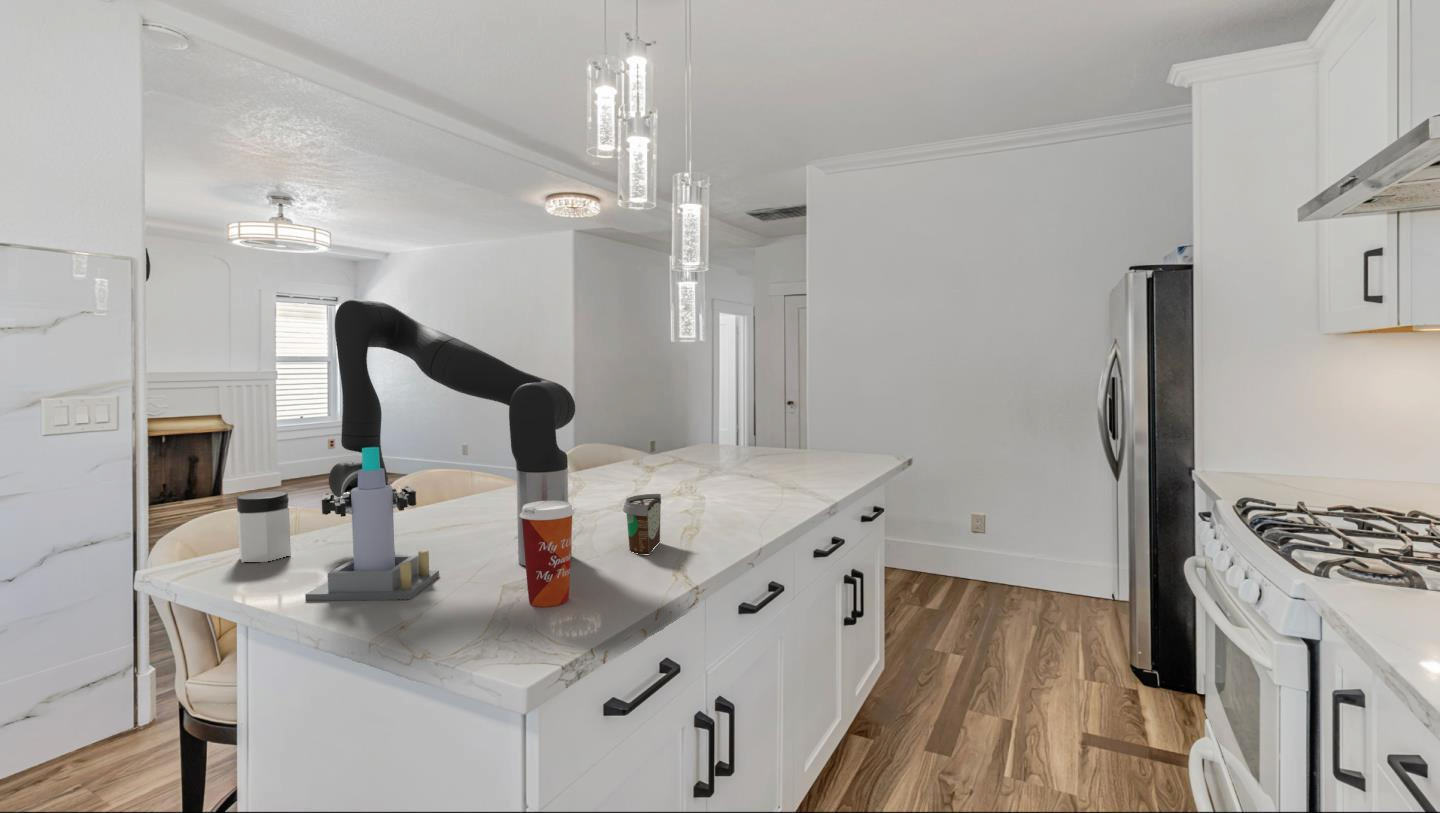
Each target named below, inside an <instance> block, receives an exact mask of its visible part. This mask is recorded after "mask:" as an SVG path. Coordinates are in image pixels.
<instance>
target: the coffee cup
mask: <svg viewBox="0 0 1440 813" xmlns="http://www.w3.org/2000/svg"><path fill="white" fill-rule="evenodd" d="M575 512H576V511H575V510H574V509H573V507H572V504H571V503H570V502H569V501H568V502H565V501H538V502H532V503H528V504H525V505H524V506H523V507H522V512H521V513H520V515H519V516H520V517H521V518H522V526H523V539H524V551H525V564H526V566H525V573H526V584H527V585H526V586H527V596H528V602H529V605H530V606H533V607H537V608H552V607H558V606H562V605H564V604H566V603H567V602H568V601H569V597H570V596H569V595H570V584H571V583H570V581H571V560H572V559H571V558H572V556H571V537H572V532H573V515H575V514H576V513H575ZM565 602H566V603H565ZM561 604H562V605H561Z"/></svg>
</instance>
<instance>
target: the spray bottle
mask: <svg viewBox="0 0 1440 813" xmlns="http://www.w3.org/2000/svg"><path fill="white" fill-rule="evenodd" d="M361 462H362V469H361V470H358V487H356V488H353V489H352V490H351V504H352V513H351V524H352V525H351V526H352V551H353V552H352V553H353V554H352V555H353V559H354V571H389V570H390V569H392V568H394V567H395V555H396V553H395V550H396V548H395V526H394V521H395V520H394V508H393V491H392V488H393V487H392V486H391V485H389V484H388V485H386V483H385V472H384V469H383V468H380V459H379V447H368V448H362V453H361Z"/></svg>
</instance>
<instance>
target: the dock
mask: <svg viewBox="0 0 1440 813" xmlns="http://www.w3.org/2000/svg"><path fill="white" fill-rule="evenodd" d="M438 576H439V577H440V570H430V552H429V550H426V549H425V550H420V551H418V554H411V555H408V554H407V555H404V554H403V555H402V554H399V555H398V554H395V567H394V568H392V569H390V570H389V571H354V558H352V559H351V560H349V561H346V562H345V563H344V564H342V565H340V566H338V567H336V568H334V569H333V570H331V571H328V572H327V581H326V582H325V583H323V584H320V585H319V586H317V587H316V588H313V589H312V590H310V591H309V592H307V593H305V594H304V595H305V596H304V597H305V602H307V600H309V602H310V601H311V600H312V601H389V600H390V601H393V600H395V601H397V600H398V599H400V600H399V601H401V599H405V600H406V599H409V600H411V599H412V598H413V597H414V596H416V595H417V594H418V593H420V592H421V591H422V590H423V589H425V588H427V586H429V584H431V583H433V581H435V580H436V579H437V578H439V577H438ZM415 594H416V595H415ZM396 599H397V600H396ZM405 600H404V601H405ZM406 601H407V600H406Z"/></svg>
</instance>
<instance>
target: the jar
mask: <svg viewBox="0 0 1440 813" xmlns="http://www.w3.org/2000/svg"><path fill="white" fill-rule="evenodd" d="M289 502H290V501H289V496H288V492H285V491H261V492H260V491H259V492H254V493H246V494H243V495H239V496H238V497H236V506H237V507H236V510H237V512H236V514H237V532H238V536H237V537H238V555H239V559H240V561H241V564H244V563H243V562H261V563H269V562H268V561H271V562H273V561H272V560H274V561H277V560H276V559H278V560H280V559H279V558H281V559H284V558H283V557H285V558H287V557H286V556H289V557H291V556H292V552H291V551H292V547H291V546H292V545H291V525H290V524H291V522H290V508H289ZM290 555H291V556H290Z"/></svg>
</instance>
